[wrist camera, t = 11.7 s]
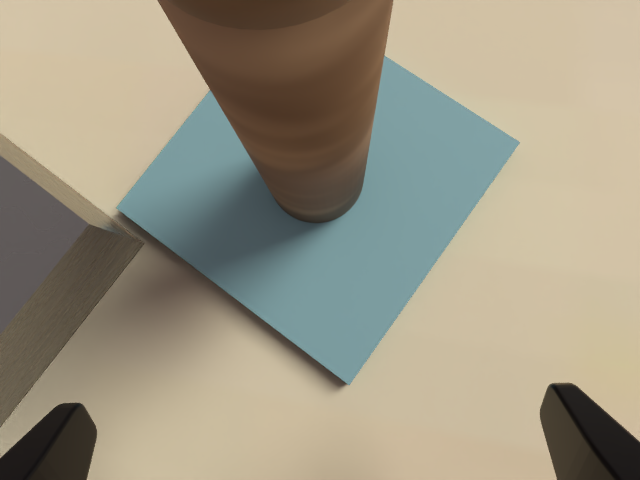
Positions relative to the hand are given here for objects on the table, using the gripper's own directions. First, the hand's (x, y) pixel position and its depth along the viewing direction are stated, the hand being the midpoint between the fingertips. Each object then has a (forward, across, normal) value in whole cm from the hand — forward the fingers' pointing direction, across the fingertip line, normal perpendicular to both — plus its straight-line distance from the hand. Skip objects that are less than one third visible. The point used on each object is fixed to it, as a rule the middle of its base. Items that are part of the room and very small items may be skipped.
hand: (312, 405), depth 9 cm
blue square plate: (+11, 0, +1) cm, 11 cm away
